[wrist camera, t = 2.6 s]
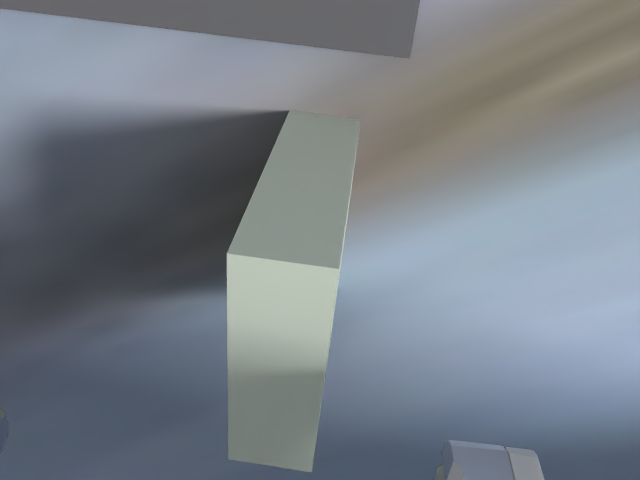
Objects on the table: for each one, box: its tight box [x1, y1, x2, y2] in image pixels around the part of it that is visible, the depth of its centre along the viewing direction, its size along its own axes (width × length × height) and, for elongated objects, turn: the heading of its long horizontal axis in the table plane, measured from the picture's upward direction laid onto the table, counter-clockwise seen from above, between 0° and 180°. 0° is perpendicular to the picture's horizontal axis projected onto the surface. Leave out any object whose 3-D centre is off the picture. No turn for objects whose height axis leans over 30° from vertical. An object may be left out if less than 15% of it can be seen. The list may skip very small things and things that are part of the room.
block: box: [227, 111, 361, 472], centre depth 14 cm, size 2×6×7 cm, turn 175°
